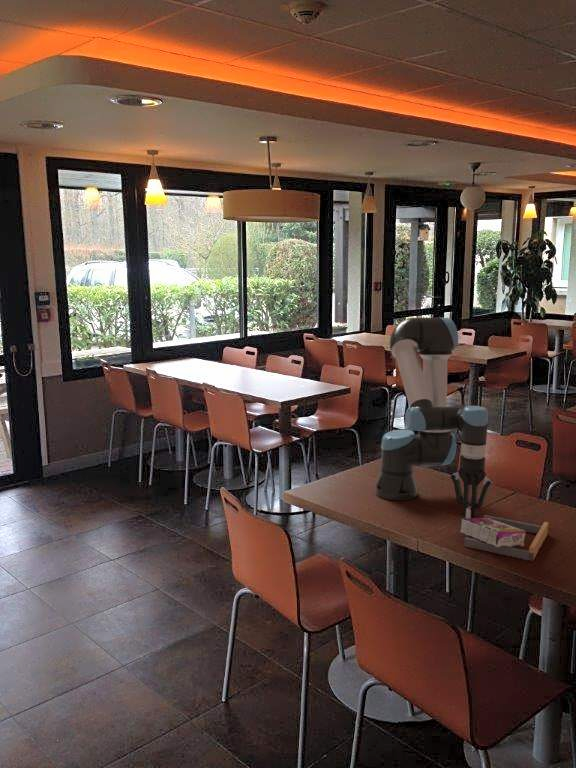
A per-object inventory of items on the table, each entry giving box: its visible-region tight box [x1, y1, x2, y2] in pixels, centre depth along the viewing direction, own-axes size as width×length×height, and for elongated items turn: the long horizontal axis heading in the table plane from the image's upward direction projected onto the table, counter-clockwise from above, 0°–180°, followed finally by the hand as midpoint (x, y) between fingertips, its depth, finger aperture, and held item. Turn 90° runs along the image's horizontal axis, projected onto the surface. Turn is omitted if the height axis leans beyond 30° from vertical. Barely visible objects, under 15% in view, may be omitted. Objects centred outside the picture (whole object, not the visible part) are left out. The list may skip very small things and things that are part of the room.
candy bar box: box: [460, 517, 527, 548], centre depth 207 cm, size 11×5×16 cm
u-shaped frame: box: [463, 514, 549, 562], centre depth 211 cm, size 20×22×4 cm
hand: (468, 527), depth 217 cm, fingers closed
